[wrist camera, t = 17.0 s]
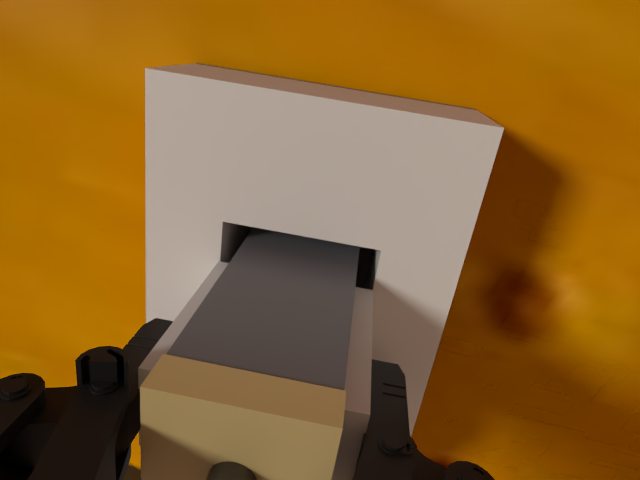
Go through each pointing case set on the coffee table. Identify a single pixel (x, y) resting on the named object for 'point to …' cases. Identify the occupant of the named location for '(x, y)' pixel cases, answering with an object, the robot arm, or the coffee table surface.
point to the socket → (315, 191)
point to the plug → (256, 368)
